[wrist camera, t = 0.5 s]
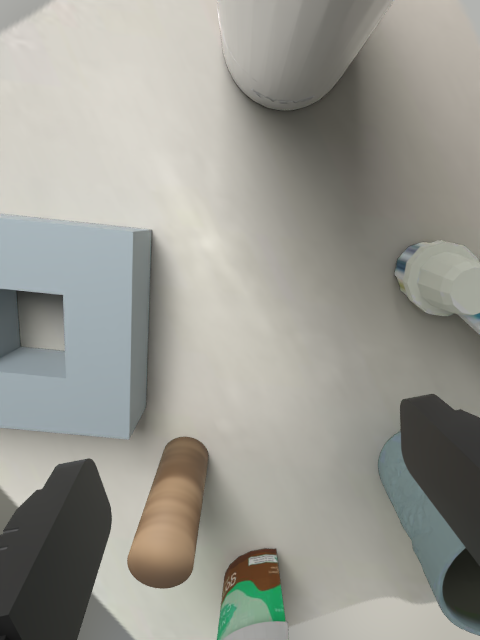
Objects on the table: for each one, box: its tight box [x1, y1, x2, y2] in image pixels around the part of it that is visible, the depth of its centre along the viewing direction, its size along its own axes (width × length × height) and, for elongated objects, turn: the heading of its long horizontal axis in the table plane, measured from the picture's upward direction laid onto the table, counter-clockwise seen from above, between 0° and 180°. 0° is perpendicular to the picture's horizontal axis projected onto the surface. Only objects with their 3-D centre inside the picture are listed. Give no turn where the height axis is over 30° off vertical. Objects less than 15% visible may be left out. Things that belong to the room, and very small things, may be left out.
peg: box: [127, 437, 208, 588], centre depth 29 cm, size 4×4×11 cm
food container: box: [217, 549, 289, 640], centre depth 33 cm, size 12×6×10 cm, turn 173°
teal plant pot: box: [378, 431, 480, 636], centre depth 28 cm, size 10×10×12 cm
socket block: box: [0, 214, 152, 439], centre depth 28 cm, size 16×16×5 cm
